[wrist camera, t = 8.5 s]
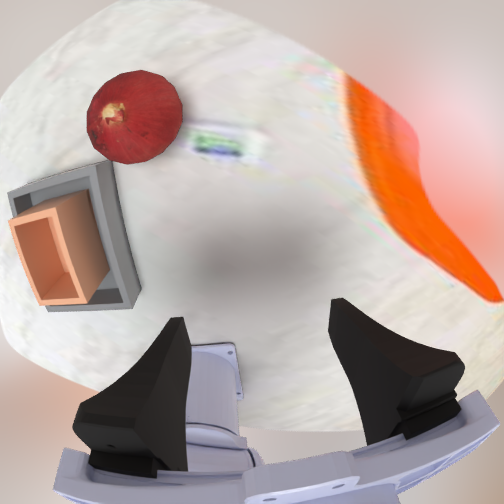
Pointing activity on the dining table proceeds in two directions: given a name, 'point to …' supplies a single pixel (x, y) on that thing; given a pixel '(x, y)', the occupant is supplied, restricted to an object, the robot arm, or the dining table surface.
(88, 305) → the big crate
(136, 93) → the onion
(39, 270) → the small crate
